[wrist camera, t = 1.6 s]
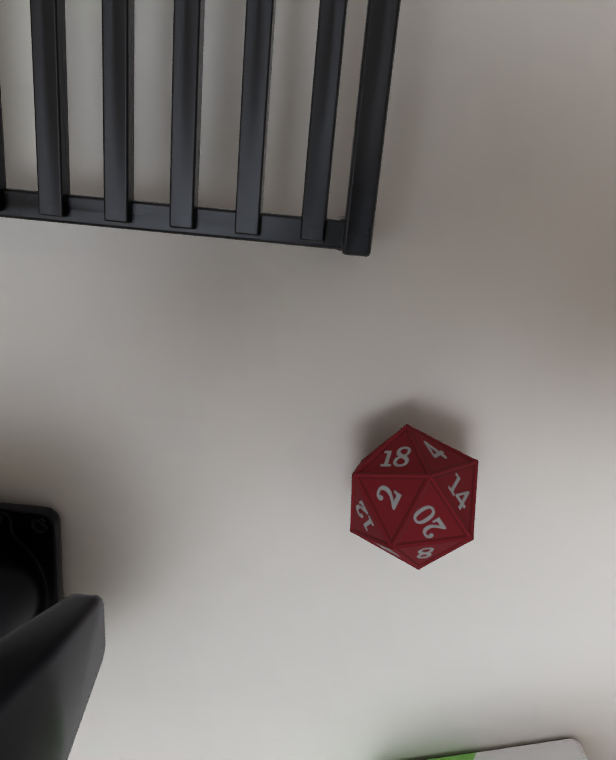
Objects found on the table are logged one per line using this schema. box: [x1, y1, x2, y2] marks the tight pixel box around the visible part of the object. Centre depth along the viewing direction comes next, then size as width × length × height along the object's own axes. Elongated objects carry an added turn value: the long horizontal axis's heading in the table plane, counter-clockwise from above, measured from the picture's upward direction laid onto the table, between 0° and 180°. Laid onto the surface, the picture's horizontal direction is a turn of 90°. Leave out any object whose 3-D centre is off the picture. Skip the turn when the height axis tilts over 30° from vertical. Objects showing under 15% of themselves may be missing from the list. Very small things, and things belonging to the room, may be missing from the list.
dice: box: [350, 424, 478, 570], centre depth 17 cm, size 4×4×4 cm
